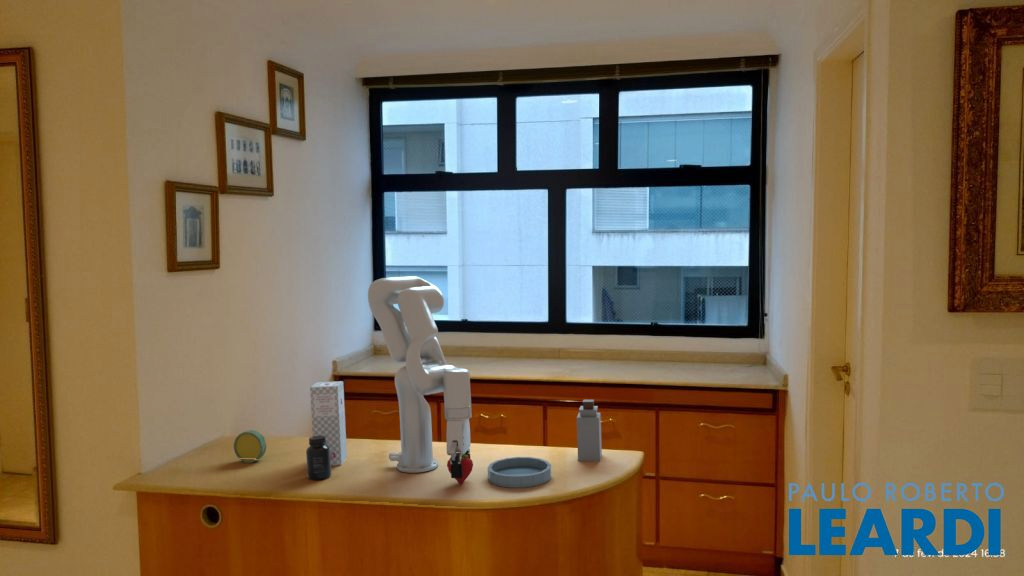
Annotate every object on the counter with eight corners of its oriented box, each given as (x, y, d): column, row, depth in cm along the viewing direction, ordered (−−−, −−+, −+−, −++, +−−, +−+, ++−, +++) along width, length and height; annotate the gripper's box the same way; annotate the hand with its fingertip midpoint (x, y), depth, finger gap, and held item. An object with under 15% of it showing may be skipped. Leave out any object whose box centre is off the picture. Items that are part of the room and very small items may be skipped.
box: (314, 466, 223) (310, 387, 222) (320, 458, 231) (316, 382, 230) (341, 465, 223) (337, 386, 222) (346, 457, 232) (343, 381, 230)
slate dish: (482, 487, 198) (482, 475, 197) (495, 467, 215) (494, 456, 215) (547, 488, 195) (546, 476, 194) (554, 468, 212) (553, 457, 212)
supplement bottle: (335, 474, 214) (333, 434, 213) (322, 481, 208) (320, 441, 207) (316, 472, 216) (314, 433, 216) (302, 479, 210) (300, 439, 209)
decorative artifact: (234, 462, 230) (232, 431, 230) (246, 456, 237) (244, 426, 237) (262, 463, 228) (261, 432, 228) (274, 456, 235) (272, 426, 235)
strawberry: (450, 479, 205) (449, 445, 205) (476, 480, 204) (474, 445, 203) (445, 486, 200) (443, 451, 199) (471, 487, 198) (469, 451, 198)
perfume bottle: (600, 461, 217) (598, 403, 216) (578, 460, 219) (576, 403, 218) (601, 455, 224) (600, 398, 223) (580, 454, 225) (578, 398, 224)
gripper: (452, 406, 210) (455, 463, 210) (437, 419, 193) (440, 482, 193) (477, 405, 208) (480, 463, 209) (464, 419, 191) (467, 482, 192)
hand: (461, 472), depth 201 cm, fingers open, 9 cm apart
